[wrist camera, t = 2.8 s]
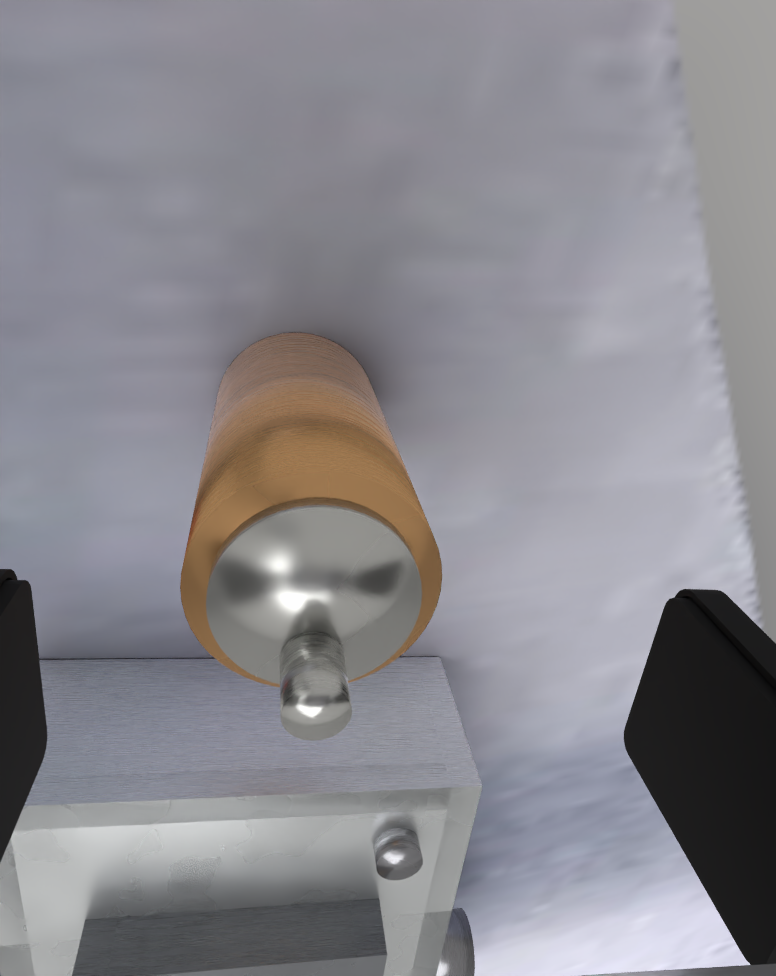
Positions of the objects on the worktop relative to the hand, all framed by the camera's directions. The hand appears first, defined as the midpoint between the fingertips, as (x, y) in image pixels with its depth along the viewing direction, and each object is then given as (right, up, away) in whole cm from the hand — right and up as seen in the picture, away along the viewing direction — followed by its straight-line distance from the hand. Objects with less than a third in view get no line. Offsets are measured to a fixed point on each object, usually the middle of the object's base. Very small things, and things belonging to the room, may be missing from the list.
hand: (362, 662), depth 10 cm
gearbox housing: (-5, -10, +14) cm, 18 cm away
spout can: (-2, +5, +7) cm, 9 cm away
